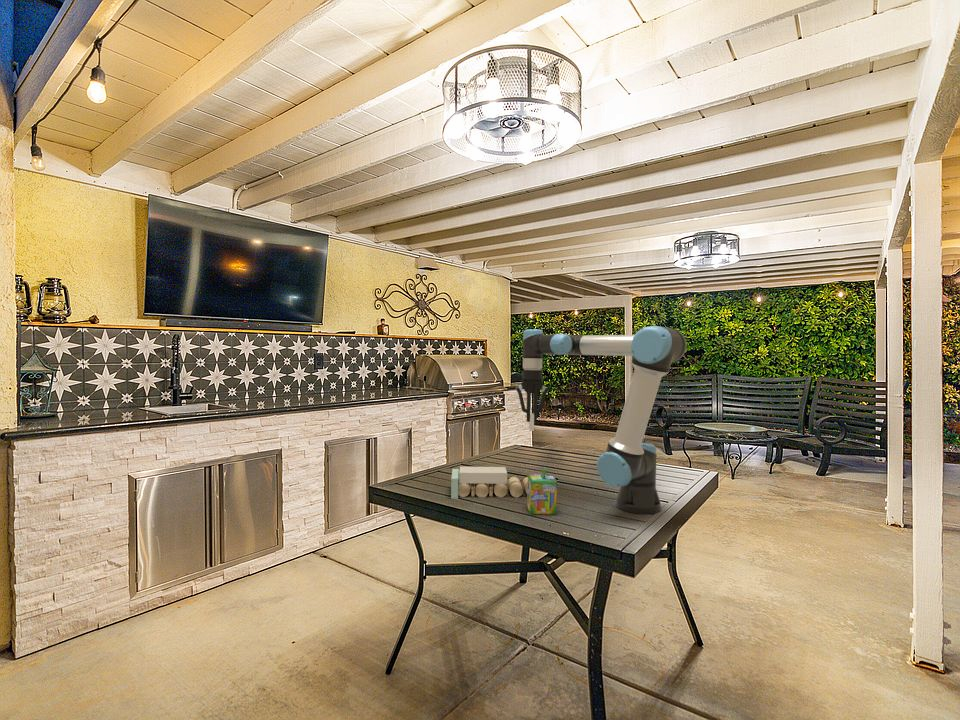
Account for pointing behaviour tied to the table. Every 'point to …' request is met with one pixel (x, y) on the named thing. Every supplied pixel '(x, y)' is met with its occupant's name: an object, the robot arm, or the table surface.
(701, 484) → the table surface
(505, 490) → the roller bed
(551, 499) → the chalk box
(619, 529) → the table surface
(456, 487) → the board
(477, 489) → the roller
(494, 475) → the slab
